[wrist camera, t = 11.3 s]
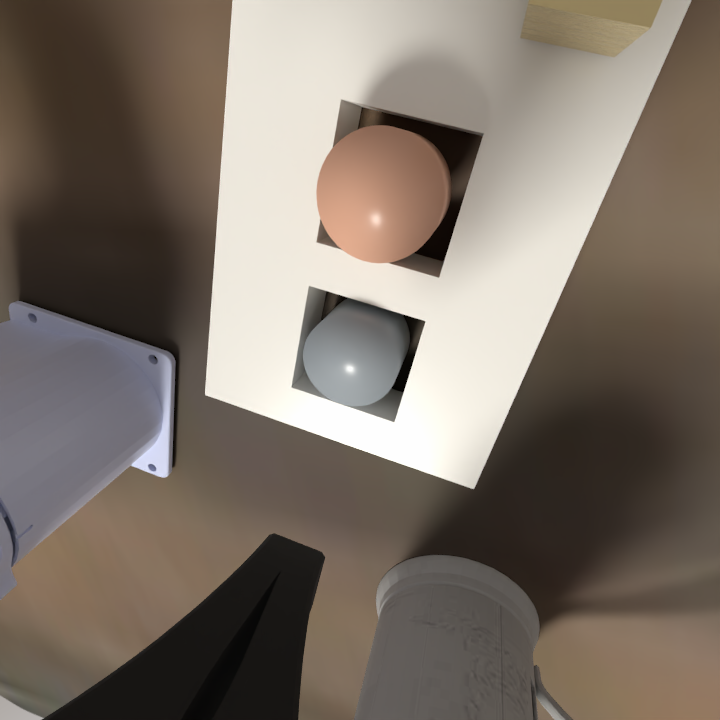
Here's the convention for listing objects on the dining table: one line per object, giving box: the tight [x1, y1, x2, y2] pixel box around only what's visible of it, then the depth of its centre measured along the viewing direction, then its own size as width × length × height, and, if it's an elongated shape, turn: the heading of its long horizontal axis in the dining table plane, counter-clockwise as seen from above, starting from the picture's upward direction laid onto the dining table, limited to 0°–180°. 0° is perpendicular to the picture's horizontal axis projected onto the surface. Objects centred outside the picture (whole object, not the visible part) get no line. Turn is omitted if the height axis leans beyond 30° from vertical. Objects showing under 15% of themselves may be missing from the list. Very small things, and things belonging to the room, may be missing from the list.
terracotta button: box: [316, 125, 452, 263], centre depth 14 cm, size 4×4×3 cm
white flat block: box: [205, 0, 691, 489], centre depth 15 cm, size 12×20×3 cm, turn 167°
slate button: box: [303, 298, 410, 406], centre depth 18 cm, size 4×4×3 cm
